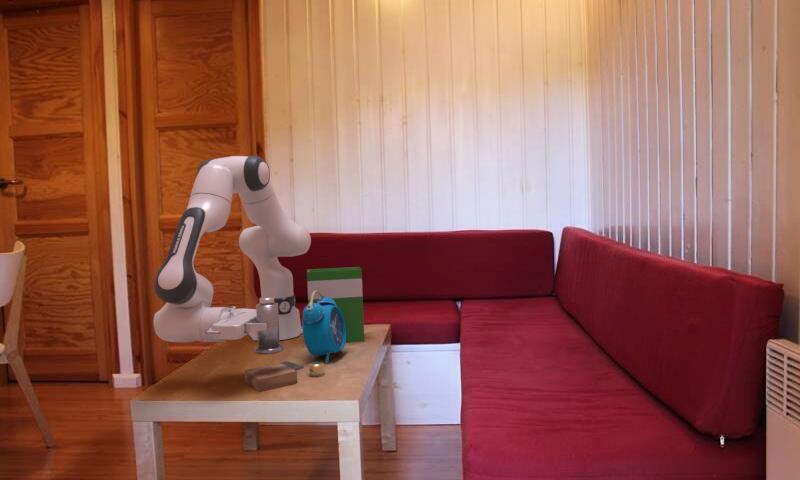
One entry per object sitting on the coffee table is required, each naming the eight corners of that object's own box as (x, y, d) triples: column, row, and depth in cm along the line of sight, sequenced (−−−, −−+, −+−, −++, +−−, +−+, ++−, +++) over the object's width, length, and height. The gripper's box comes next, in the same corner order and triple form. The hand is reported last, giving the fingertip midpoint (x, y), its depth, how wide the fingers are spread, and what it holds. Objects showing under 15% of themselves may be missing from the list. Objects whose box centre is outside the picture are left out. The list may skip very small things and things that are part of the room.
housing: (250, 350, 138) (248, 298, 138) (276, 345, 143) (274, 294, 142) (260, 355, 133) (258, 301, 132) (287, 351, 137) (285, 297, 136)
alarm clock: (334, 365, 151) (331, 295, 150) (299, 364, 153) (296, 295, 152) (351, 349, 168) (348, 286, 166) (319, 349, 170) (317, 286, 168)
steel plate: (268, 370, 151) (268, 366, 151) (286, 365, 155) (286, 361, 155) (286, 375, 145) (285, 371, 145) (303, 370, 150) (303, 365, 150)
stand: (245, 381, 139) (244, 370, 139) (281, 373, 145) (281, 362, 145) (259, 391, 131) (258, 379, 131) (297, 382, 137) (296, 371, 137)
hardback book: (362, 336, 185) (359, 266, 183) (364, 341, 178) (361, 269, 176) (310, 340, 182) (307, 269, 181) (310, 345, 175) (306, 272, 173)
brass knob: (306, 374, 144) (306, 363, 144) (320, 371, 146) (319, 360, 146) (313, 378, 141) (312, 366, 141) (327, 375, 143) (326, 363, 143)
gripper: (200, 320, 128) (257, 319, 127) (232, 305, 148) (281, 304, 147) (201, 346, 128) (258, 345, 127) (233, 328, 148) (282, 327, 147)
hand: (271, 323), depth 137 cm, fingers closed on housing, 5 cm apart
